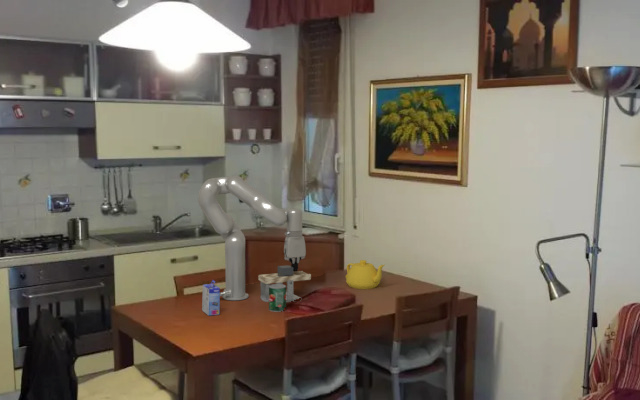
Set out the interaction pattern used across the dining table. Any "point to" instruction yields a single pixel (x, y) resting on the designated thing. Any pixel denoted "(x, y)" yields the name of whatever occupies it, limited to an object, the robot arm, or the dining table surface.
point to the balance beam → (275, 279)
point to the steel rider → (285, 271)
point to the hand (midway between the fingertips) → (294, 270)
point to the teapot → (363, 275)
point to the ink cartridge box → (211, 299)
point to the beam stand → (289, 292)
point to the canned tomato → (277, 297)
